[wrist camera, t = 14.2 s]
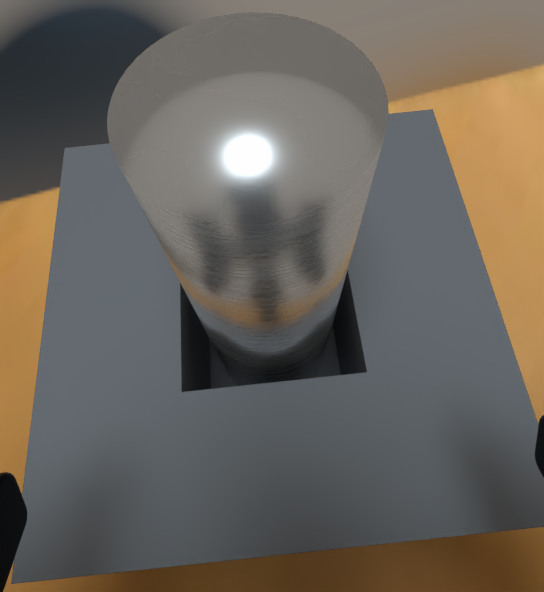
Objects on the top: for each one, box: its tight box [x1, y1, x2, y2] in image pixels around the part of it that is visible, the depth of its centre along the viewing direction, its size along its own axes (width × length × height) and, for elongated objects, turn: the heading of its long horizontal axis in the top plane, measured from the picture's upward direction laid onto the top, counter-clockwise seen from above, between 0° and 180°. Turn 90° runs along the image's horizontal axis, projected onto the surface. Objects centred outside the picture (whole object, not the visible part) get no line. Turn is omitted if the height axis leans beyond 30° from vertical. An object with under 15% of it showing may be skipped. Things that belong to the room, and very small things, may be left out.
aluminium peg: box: [107, 13, 389, 386], centre depth 12 cm, size 4×4×12 cm
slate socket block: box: [11, 109, 544, 584], centre depth 15 cm, size 13×13×6 cm
